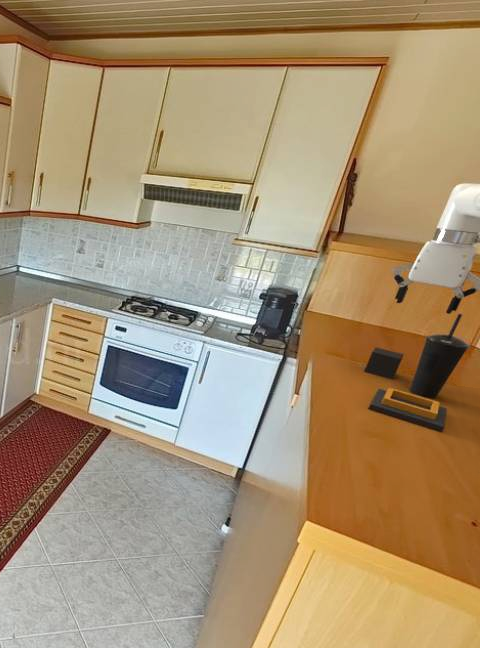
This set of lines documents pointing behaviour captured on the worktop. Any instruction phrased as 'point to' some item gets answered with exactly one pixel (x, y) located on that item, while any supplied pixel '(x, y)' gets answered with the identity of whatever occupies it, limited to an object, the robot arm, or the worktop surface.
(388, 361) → the black pad
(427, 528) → the worktop surface
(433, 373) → the drinking cup
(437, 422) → the base pad
